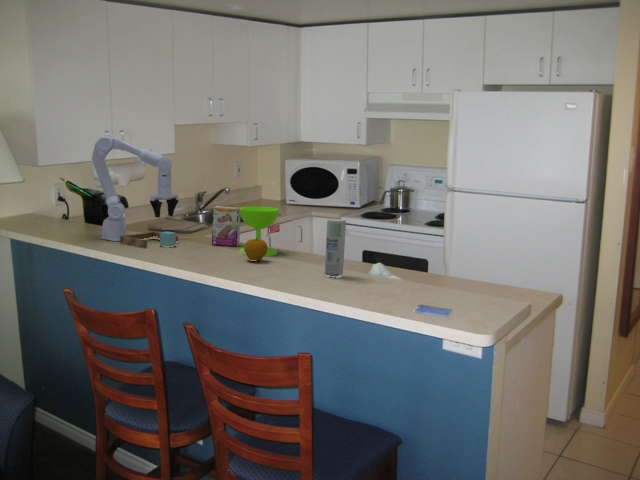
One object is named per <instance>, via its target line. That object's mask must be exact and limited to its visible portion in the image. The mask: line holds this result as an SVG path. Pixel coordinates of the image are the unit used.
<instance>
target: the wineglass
mask: <svg viewBox="0 0 640 480" xmlns="http://www.w3.org/2000/svg"><path fill="white" fill-rule="evenodd" d="M238 208H239V209H240V219H241V220H243V222H244V223H245V224H246V225H247V226H248V227H251V228H253V229H255V230H256V231H255V239H256V238H257V239H261V240H262V237H261V236H262V235H261V234H262V233H261V232H262V229H265V228H268V227H269V226H271V225H272V224H274V222H275V221H276V220H277V218H278V217H279V216H278V215H279V211H280V209H279V208H276V207H270V206H269V207H268V206H241V207H238ZM238 251H240V252H245V250H244V247H242V248H240V249H238ZM265 255H266V256H265V257H270V256H271V257H272V256H277V255H278V251H277V250H276V249H274V248H270V247H268V250H267V253H266V254H265Z"/></svg>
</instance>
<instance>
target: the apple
mask: <svg viewBox="0 0 640 480" xmlns="http://www.w3.org/2000/svg"><path fill="white" fill-rule="evenodd" d="M243 248H244V250H245V253H246V255H245V256H246V257H247V258H248V260H249V259H250V260H260V259H261V260H262V259H263V258H264V257H266V256H265V254H266V253H267V250H268V248H269V247H268V244H267V242H266V241H265V240H264V239H262V238H261V239H257V238H256V237H255V238H252V239H251V238H250V239H248V240H247V241H246V242H245V243H244V247H243ZM250 260H249V261H250ZM261 260H260V261H261Z"/></svg>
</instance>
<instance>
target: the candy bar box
mask: <svg viewBox="0 0 640 480" xmlns="http://www.w3.org/2000/svg"><path fill="white" fill-rule="evenodd" d="M239 208H240V207H231V206H222V205H221V206H220V205H216V206H213V207H212V226H211V227H212V232H211V233H212V234H211V245H212V246H220V247H221V246H222V247H235V248H237V247H238V246H240V235H241V234H240V233H241V215H240V209H239Z"/></svg>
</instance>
